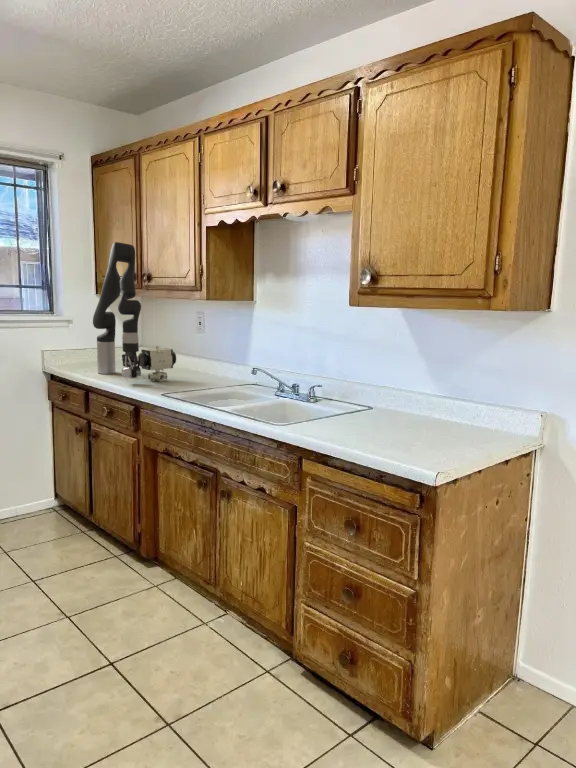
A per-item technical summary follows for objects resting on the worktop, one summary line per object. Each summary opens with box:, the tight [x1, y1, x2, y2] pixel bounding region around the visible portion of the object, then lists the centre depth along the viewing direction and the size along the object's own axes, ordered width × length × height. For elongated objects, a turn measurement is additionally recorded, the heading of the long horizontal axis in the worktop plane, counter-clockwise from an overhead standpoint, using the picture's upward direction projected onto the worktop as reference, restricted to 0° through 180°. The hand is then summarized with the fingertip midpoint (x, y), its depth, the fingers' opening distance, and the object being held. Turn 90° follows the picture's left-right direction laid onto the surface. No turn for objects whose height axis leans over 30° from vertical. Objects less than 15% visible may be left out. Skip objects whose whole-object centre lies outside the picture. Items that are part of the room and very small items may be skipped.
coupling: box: [121, 365, 142, 379], centre depth 278 cm, size 5×8×5 cm
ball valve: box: [137, 345, 177, 383], centre depth 287 cm, size 18×8×18 cm, turn 132°
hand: (131, 376), depth 278 cm, fingers closed on coupling, 5 cm apart
